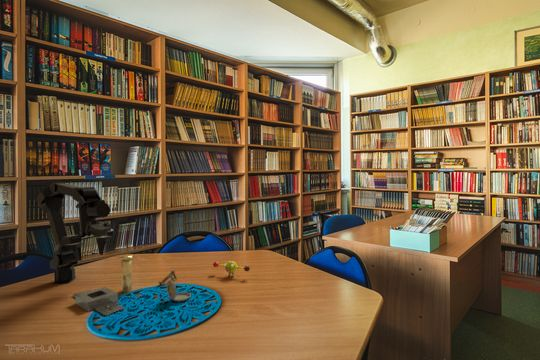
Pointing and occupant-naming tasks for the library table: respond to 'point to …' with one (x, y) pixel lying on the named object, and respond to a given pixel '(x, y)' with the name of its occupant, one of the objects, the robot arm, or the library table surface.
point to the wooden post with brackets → (168, 277)
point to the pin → (126, 272)
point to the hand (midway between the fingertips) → (91, 257)
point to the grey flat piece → (98, 300)
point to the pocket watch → (172, 292)
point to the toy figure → (231, 267)
